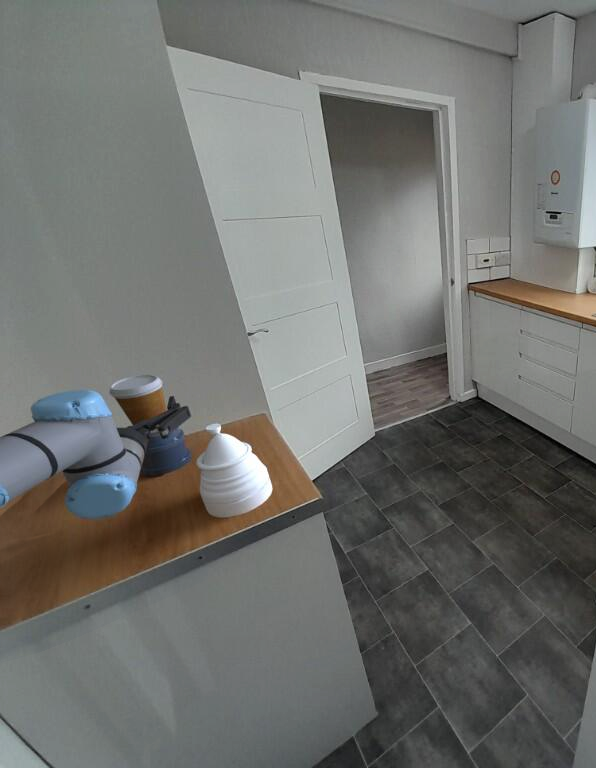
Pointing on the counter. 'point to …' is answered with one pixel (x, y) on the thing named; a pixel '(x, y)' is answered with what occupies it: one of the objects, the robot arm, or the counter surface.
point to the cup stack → (165, 454)
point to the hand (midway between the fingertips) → (134, 408)
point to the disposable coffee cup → (139, 397)
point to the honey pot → (231, 476)
